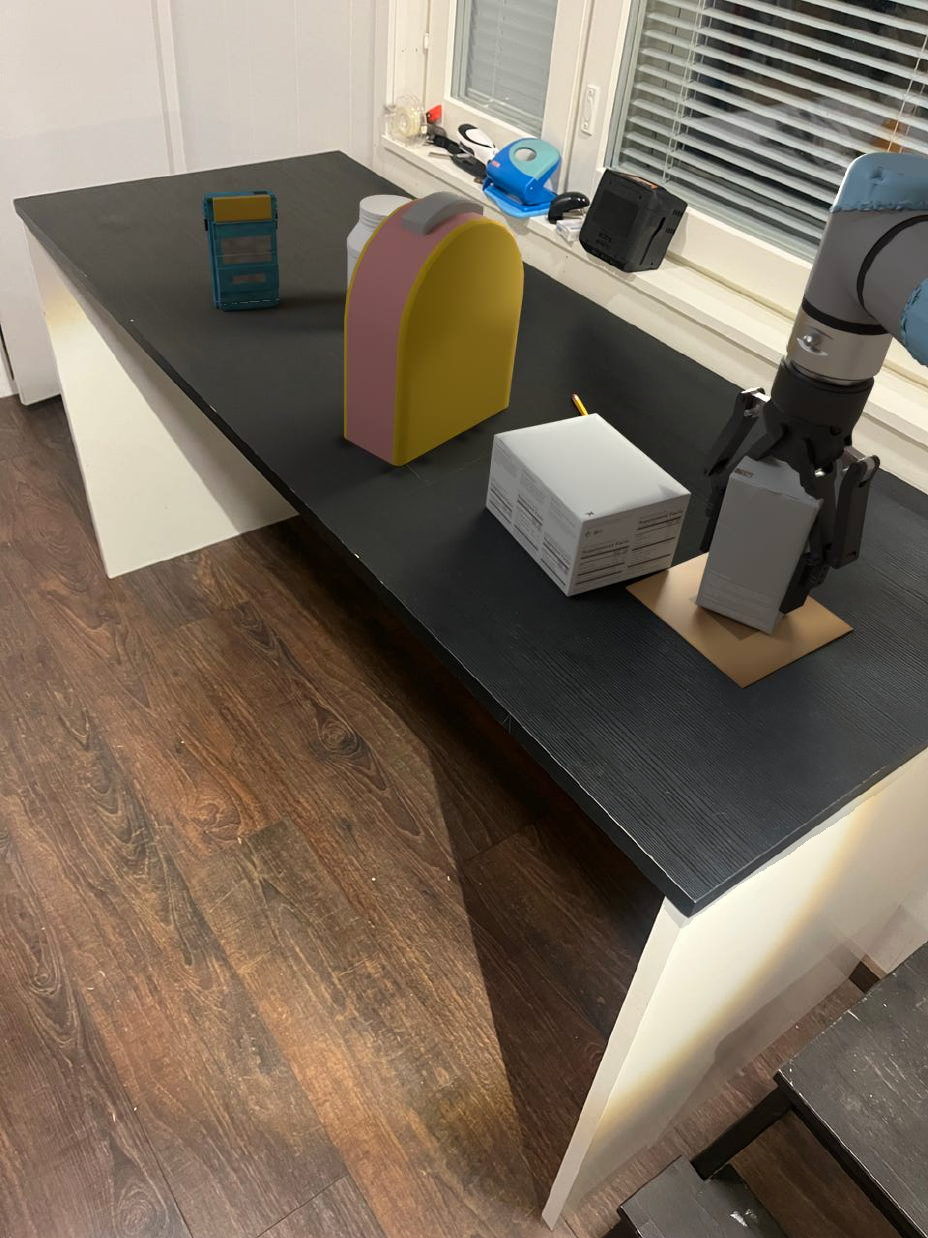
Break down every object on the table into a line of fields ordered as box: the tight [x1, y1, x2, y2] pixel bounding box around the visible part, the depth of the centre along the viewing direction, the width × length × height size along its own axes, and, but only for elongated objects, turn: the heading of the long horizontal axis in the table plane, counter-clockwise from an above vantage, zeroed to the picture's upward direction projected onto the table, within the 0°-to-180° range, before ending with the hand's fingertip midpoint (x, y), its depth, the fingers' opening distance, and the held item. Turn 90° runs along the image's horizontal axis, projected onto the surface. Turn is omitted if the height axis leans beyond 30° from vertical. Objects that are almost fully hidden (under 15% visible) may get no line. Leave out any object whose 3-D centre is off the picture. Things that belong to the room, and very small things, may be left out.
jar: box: [346, 194, 413, 291], centre depth 132 cm, size 12×10×15 cm
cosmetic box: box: [695, 455, 839, 634], centre depth 89 cm, size 8×7×16 cm
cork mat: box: [625, 552, 854, 689], centre depth 94 cm, size 16×16×1 cm
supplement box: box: [485, 413, 692, 597], centre depth 98 cm, size 17×13×9 cm
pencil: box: [571, 393, 589, 416], centre depth 119 cm, size 1×13×1 cm, turn 12°
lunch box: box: [343, 190, 525, 467], centre depth 107 cm, size 21×9×26 cm, turn 140°
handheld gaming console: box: [201, 189, 280, 312], centre depth 130 cm, size 10×4×15 cm, turn 113°
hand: (750, 576), depth 92 cm, fingers closed on cosmetic box, 10 cm apart
